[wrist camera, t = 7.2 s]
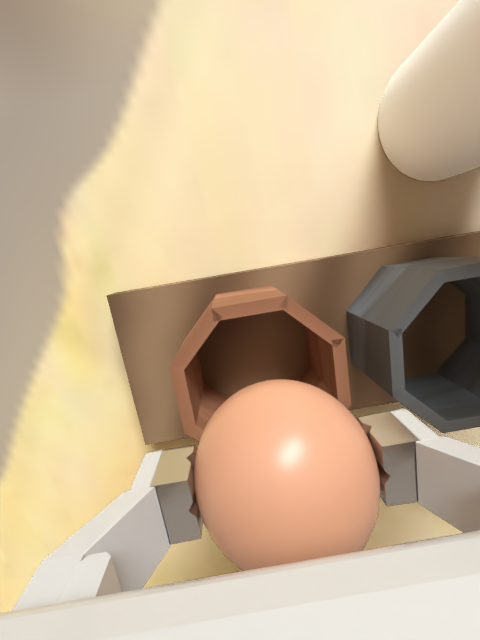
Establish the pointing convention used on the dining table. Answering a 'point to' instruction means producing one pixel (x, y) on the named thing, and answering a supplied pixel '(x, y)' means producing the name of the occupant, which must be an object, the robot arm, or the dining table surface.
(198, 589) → the robot arm
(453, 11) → the cylindrical container
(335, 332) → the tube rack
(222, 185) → the dining table surface
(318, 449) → the terracotta ball
